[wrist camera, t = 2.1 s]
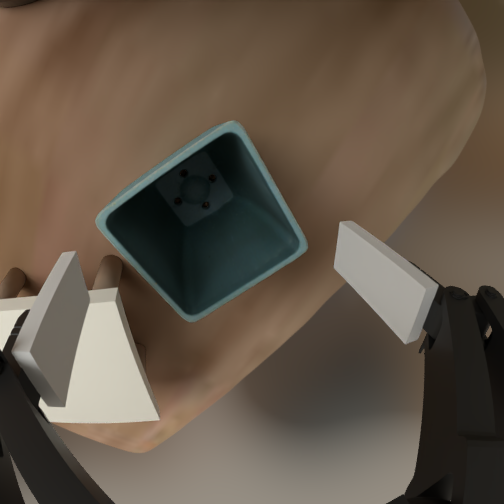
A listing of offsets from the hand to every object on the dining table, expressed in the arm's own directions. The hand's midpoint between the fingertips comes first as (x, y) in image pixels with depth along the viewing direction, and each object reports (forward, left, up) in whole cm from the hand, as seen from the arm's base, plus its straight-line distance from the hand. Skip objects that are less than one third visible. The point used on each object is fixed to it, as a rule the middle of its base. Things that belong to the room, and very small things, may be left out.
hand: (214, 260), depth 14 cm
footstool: (+11, -13, -11) cm, 20 cm away
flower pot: (0, 0, -11) cm, 11 cm away
